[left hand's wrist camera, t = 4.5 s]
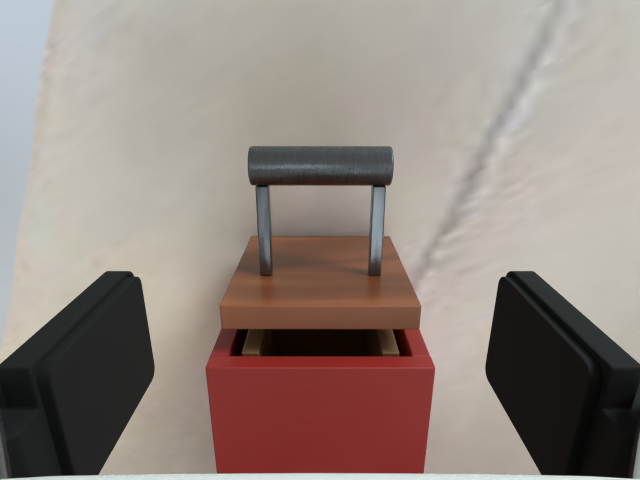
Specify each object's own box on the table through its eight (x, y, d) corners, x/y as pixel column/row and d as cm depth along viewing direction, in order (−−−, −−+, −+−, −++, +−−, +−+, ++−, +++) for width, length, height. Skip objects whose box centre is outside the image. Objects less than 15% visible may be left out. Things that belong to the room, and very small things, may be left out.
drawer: (245, 132, 25) (205, 158, 16) (396, 133, 25) (435, 158, 16) (262, 437, 32) (242, 561, 24) (377, 437, 32) (397, 562, 24)
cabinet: (246, 266, 28) (205, 367, 18) (394, 267, 28) (435, 367, 18) (258, 463, 34) (232, 622, 24) (381, 464, 34) (406, 622, 24)
